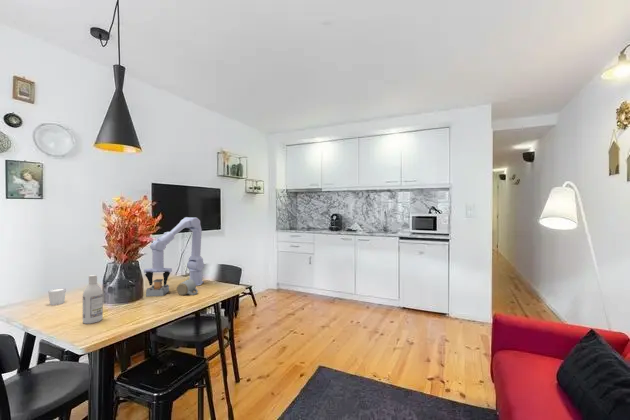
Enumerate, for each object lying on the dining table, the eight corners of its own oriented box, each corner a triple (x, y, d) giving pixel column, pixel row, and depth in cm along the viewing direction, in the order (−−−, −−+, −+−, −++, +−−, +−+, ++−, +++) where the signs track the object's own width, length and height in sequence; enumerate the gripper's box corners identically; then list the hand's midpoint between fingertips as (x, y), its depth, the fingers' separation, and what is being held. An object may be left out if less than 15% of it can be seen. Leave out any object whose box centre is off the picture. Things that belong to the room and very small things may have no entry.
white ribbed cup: (49, 306, 145) (50, 292, 145) (46, 303, 150) (46, 290, 150) (67, 303, 151) (67, 289, 151) (63, 300, 155) (64, 287, 155)
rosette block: (152, 291, 172) (152, 285, 172) (168, 291, 173) (169, 284, 173) (146, 296, 163) (146, 289, 163) (163, 295, 164) (163, 288, 164)
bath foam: (106, 317, 131) (106, 273, 131) (96, 323, 124) (96, 276, 124) (89, 318, 130) (89, 273, 130) (78, 324, 123) (78, 277, 123)
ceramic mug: (175, 295, 165) (175, 281, 165) (184, 291, 173) (184, 278, 173) (192, 296, 163) (192, 283, 163) (200, 292, 171) (201, 279, 171)
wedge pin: (156, 292, 170) (156, 279, 170) (162, 292, 170) (162, 279, 170) (153, 294, 166) (153, 280, 166) (159, 294, 167) (160, 280, 167)
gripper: (141, 262, 163) (141, 287, 163) (168, 262, 165) (168, 286, 165) (147, 260, 170) (147, 283, 170) (173, 260, 172) (173, 283, 172)
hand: (158, 284), depth 168 cm, fingers open, 7 cm apart
